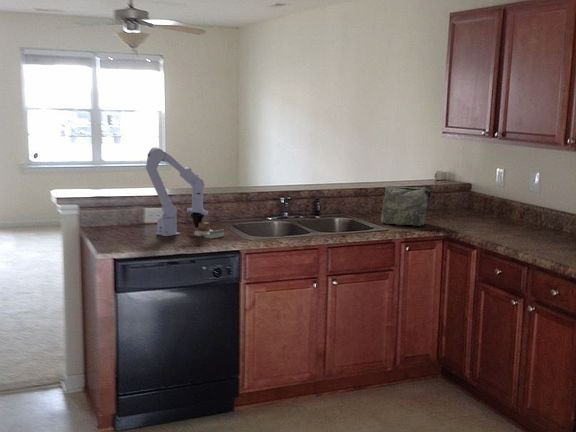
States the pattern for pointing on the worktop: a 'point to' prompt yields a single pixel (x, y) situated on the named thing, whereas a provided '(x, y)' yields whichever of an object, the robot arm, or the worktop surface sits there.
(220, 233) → the board
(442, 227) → the worktop surface
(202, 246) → the worktop surface
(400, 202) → the lunch bag
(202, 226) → the walnut block
